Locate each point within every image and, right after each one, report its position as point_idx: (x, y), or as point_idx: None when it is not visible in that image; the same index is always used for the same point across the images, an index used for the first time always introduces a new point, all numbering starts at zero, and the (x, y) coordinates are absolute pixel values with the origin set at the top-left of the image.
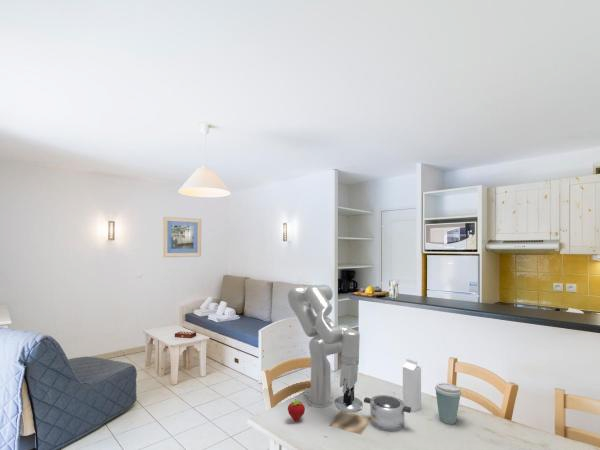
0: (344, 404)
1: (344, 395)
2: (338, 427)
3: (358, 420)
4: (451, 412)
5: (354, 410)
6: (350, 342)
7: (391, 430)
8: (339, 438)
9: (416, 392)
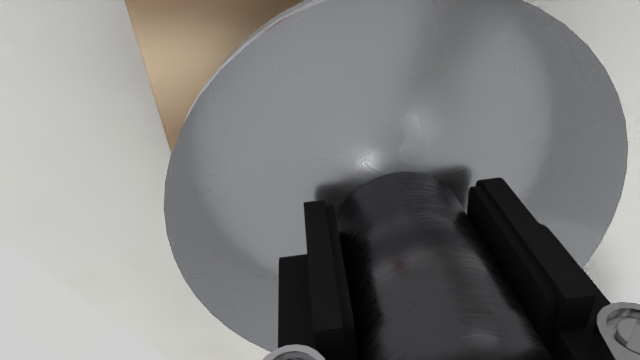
0: (301, 207)
1: (312, 320)
2: (164, 102)
3: None
4: None
5: (261, 340)
6: None
7: None
8: (43, 179)
9: None
